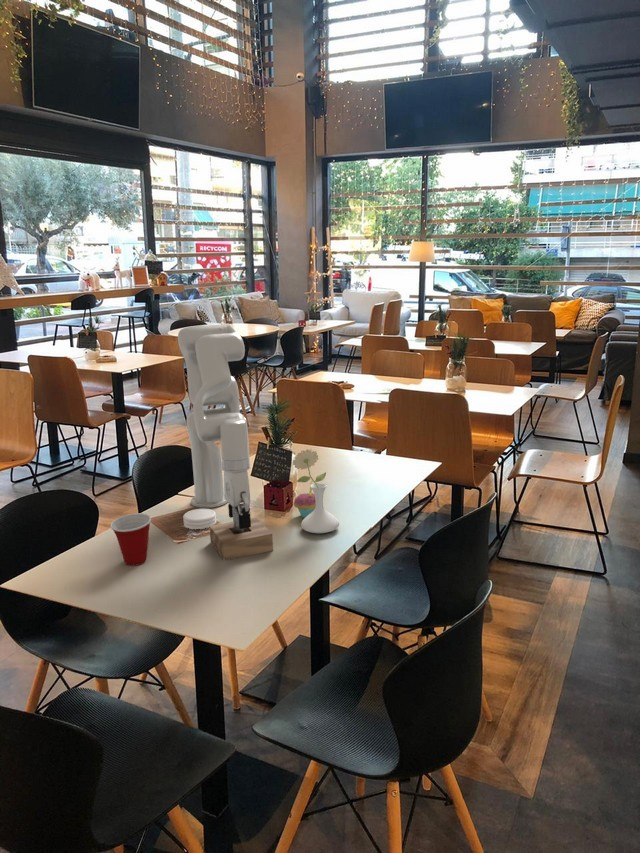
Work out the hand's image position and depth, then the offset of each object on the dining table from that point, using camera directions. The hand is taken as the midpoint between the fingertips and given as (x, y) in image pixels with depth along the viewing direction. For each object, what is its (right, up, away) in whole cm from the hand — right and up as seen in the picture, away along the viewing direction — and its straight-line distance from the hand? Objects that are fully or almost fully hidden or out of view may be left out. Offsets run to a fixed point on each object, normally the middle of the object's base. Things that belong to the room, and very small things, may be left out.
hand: (239, 522), depth 196 cm
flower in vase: (+22, -4, +12) cm, 25 cm away
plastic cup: (-28, -10, -6) cm, 30 cm away
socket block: (0, -7, +2) cm, 7 cm away
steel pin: (0, -7, +2) cm, 7 cm away
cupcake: (+19, -1, +23) cm, 30 cm away
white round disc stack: (-14, -4, +20) cm, 25 cm away
